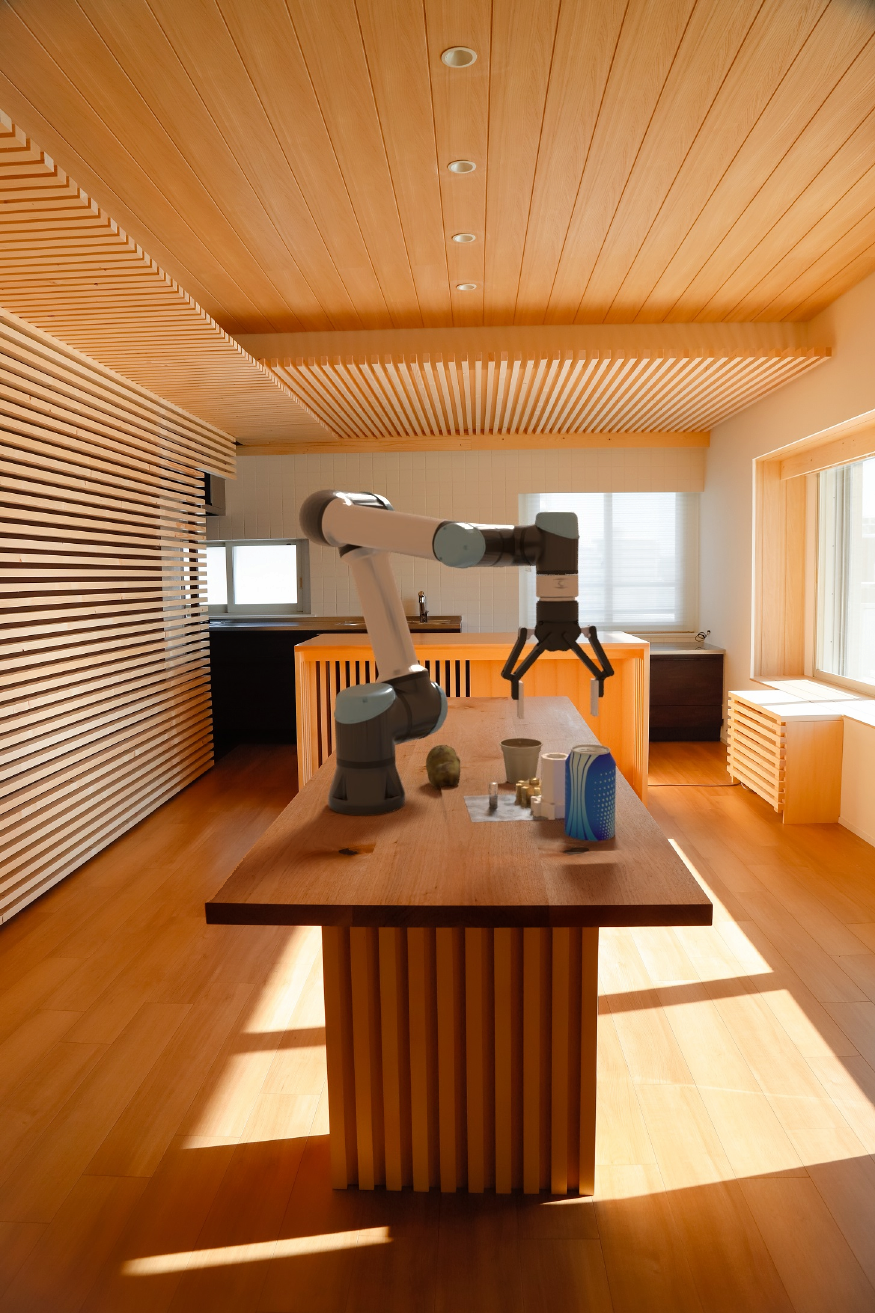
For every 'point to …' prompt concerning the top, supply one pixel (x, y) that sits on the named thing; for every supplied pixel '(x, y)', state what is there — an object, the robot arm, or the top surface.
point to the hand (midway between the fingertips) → (557, 716)
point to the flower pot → (520, 758)
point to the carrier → (505, 803)
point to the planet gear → (551, 787)
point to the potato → (443, 767)
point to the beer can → (590, 793)
